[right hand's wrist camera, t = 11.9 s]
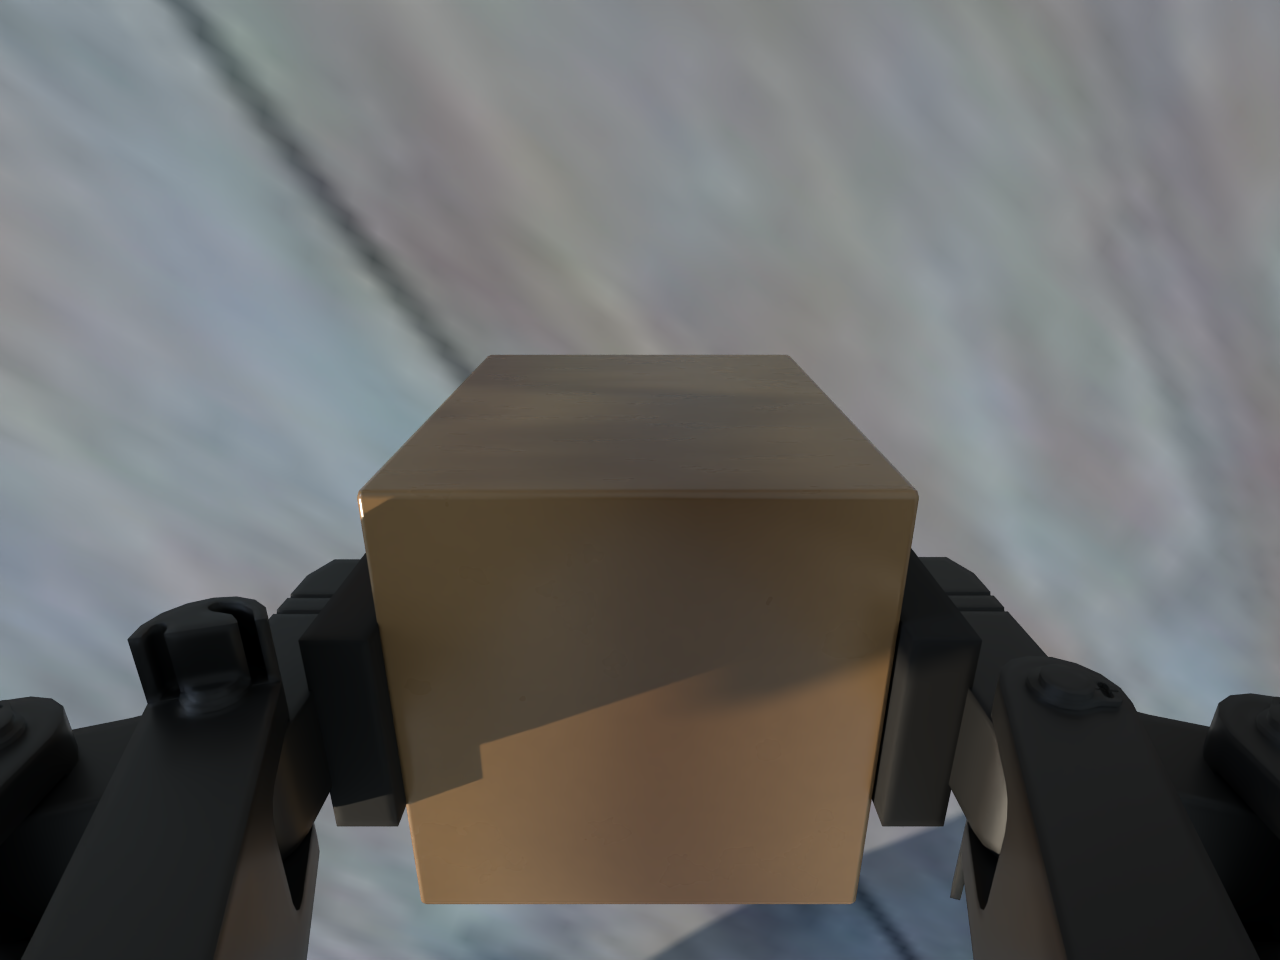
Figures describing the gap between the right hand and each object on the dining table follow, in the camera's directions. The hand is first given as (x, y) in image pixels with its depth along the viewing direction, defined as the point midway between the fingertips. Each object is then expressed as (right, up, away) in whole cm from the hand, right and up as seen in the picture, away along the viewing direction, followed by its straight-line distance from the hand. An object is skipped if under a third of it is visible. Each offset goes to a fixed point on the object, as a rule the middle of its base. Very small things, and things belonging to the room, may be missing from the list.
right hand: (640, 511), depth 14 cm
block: (0, 0, +1) cm, 1 cm away
